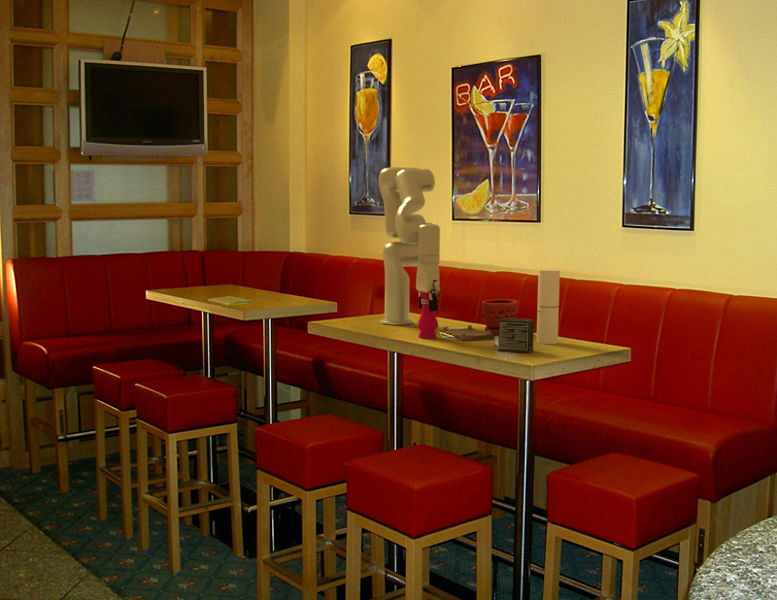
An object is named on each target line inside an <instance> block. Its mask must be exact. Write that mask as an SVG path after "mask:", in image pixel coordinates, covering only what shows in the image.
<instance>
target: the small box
mask: <svg viewBox="0 0 777 600" xmlns="http://www.w3.org/2000/svg"><path fill="white" fill-rule="evenodd" d="M534 324H535V320H534V319H533V318H532V319H531V318H517V319H516V318H502V319H499V335H498V345H497V346H498V348H497V351H498V352H505V353H520V354H521V353H522V354H530V353H532V352H533V351H534V335H535V334H534V332H535V331H534V330H535V328H534V326H535V325H534Z"/></svg>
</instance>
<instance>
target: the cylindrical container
mask: <svg viewBox="0 0 777 600" xmlns="http://www.w3.org/2000/svg"><path fill="white" fill-rule="evenodd" d="M537 275H538V277H537V278H538V281H537V282H538V283H537V311H536V312H537V314H536V315H537V316H536V320H537V321H536V343H538V344H543V345H556V344H558V340H559V338H558V337H559V315H560V314H559V313H560V312H559V309H560V282H561V281H560V280H561V279H560V278H561V277H560V276H561V270H560V269H554V268H541V269H540V268H539V269H538V274H537Z"/></svg>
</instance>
